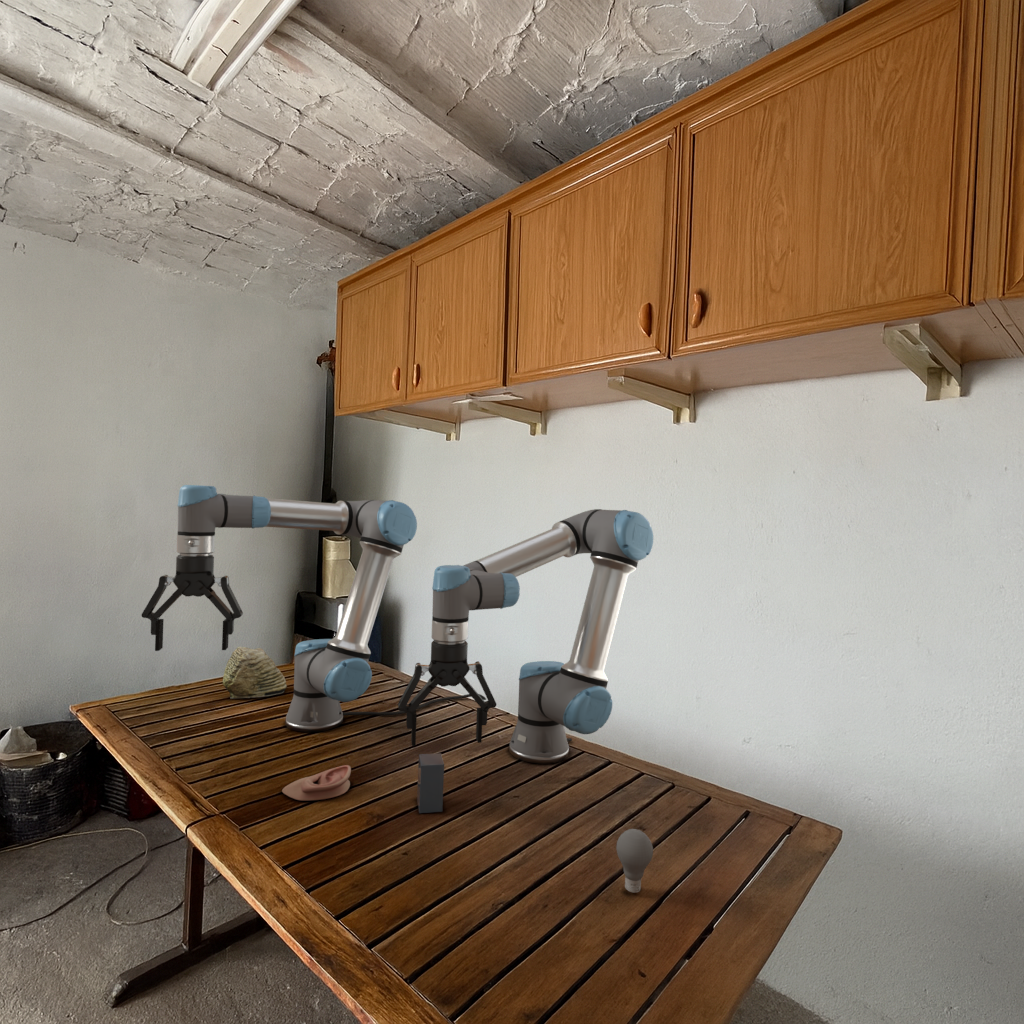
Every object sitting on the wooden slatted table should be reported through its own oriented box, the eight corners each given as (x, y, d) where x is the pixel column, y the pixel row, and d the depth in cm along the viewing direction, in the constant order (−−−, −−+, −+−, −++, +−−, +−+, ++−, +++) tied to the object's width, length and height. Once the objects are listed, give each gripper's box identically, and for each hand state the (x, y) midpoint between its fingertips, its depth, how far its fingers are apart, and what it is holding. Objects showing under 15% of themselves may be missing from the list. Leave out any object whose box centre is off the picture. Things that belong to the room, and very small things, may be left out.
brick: (419, 813, 129) (421, 765, 128) (416, 800, 134) (418, 754, 134) (442, 811, 130) (444, 764, 129) (439, 798, 135) (441, 753, 135)
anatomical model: (274, 778, 132) (303, 756, 144) (273, 796, 132) (302, 774, 144) (333, 786, 130) (357, 764, 141) (332, 805, 130) (357, 781, 141)
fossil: (218, 695, 195) (220, 647, 195) (278, 685, 208) (279, 640, 207) (228, 703, 189) (230, 653, 188) (289, 692, 201) (290, 645, 201)
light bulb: (610, 879, 108) (613, 822, 108) (644, 879, 109) (647, 822, 109) (619, 902, 102) (622, 840, 102) (655, 901, 103) (658, 840, 103)
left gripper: (127, 554, 135) (123, 653, 135) (252, 557, 140) (248, 652, 141) (139, 551, 142) (136, 645, 142) (257, 554, 147) (254, 644, 148)
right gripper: (388, 645, 125) (385, 752, 125) (512, 643, 130) (508, 745, 131) (387, 637, 132) (384, 737, 133) (504, 635, 137) (501, 732, 138)
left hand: (192, 649), depth 141 cm, fingers open, 13 cm apart
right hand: (446, 742), depth 132 cm, fingers open, 13 cm apart
